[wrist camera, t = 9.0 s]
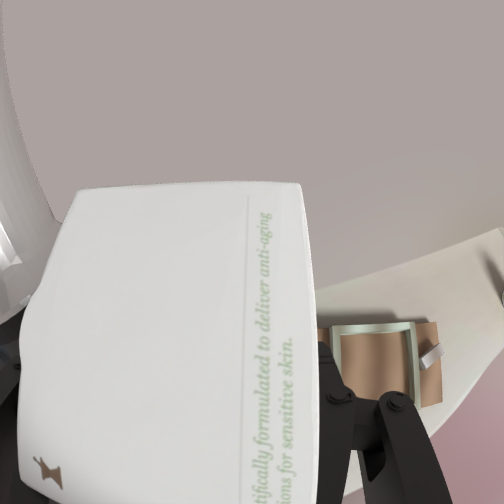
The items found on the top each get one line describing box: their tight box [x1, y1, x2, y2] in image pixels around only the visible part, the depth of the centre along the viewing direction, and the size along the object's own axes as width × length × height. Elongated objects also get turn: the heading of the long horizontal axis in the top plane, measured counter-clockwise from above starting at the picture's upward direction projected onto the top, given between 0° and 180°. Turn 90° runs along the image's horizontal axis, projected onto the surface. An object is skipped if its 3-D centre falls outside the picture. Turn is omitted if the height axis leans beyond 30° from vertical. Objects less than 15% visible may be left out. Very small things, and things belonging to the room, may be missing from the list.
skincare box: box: [17, 181, 319, 504], centre depth 11 cm, size 8×7×16 cm
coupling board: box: [317, 321, 445, 410], centre depth 31 cm, size 24×13×3 cm, turn 88°
